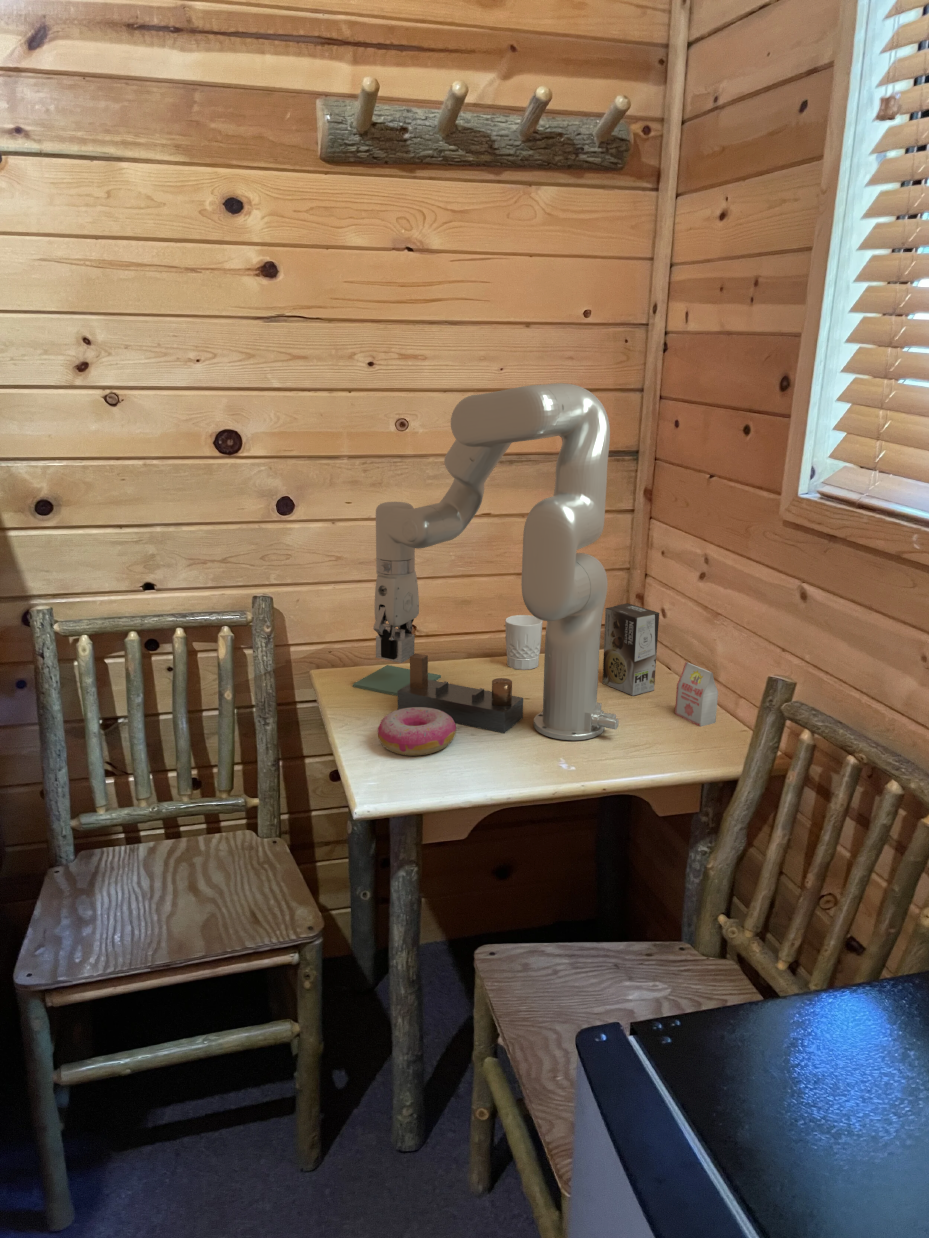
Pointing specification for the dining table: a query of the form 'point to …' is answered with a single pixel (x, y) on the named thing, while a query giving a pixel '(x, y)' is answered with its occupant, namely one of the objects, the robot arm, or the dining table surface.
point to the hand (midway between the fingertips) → (396, 653)
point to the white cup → (523, 641)
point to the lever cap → (399, 645)
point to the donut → (416, 731)
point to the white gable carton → (696, 695)
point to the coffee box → (630, 648)
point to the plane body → (462, 699)
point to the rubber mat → (389, 680)
